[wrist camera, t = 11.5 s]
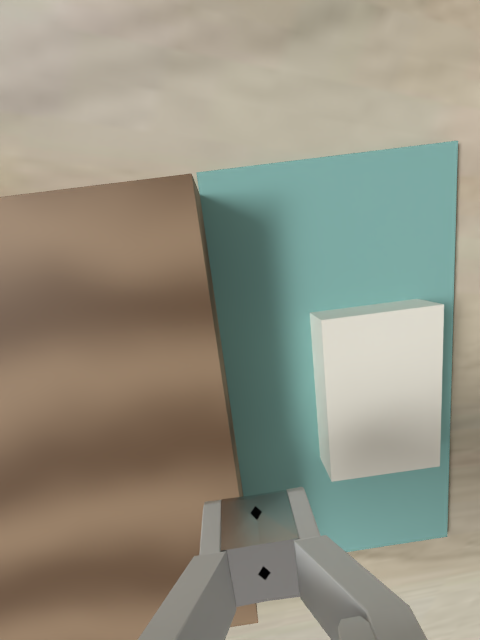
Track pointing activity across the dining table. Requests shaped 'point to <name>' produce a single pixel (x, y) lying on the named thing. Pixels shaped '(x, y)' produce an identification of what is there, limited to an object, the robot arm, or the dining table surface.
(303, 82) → the dining table surface
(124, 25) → the dining table surface
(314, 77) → the dining table surface
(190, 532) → the board
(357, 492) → the mat
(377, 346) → the white rectangular eraser
